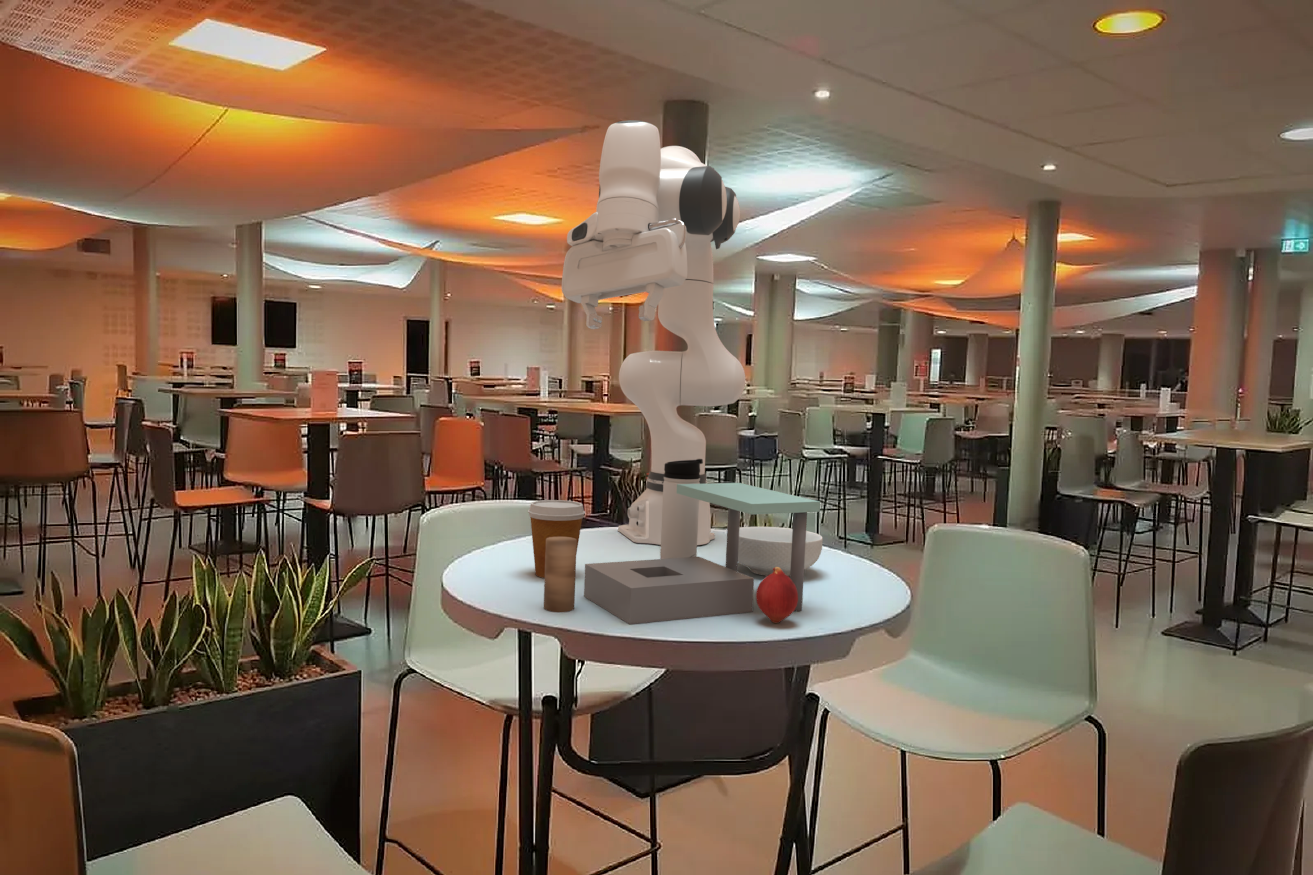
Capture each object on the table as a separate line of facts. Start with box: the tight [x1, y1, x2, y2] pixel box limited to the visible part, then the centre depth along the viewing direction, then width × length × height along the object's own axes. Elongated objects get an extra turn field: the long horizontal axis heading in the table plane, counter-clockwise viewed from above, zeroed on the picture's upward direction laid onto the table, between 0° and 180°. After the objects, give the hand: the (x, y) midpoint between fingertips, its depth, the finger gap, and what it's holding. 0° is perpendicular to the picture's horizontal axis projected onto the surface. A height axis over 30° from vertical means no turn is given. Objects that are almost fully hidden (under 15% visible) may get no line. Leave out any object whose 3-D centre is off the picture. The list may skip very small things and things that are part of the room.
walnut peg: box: [543, 537, 577, 613], centre depth 129 cm, size 4×4×10 cm
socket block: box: [583, 556, 755, 625], centre depth 134 cm, size 16×20×5 cm
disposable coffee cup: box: [527, 499, 586, 579], centre depth 150 cm, size 10×10×12 cm
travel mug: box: [659, 459, 703, 559], centre depth 155 cm, size 6×7×20 cm
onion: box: [755, 567, 798, 624], centre depth 126 cm, size 6×6×8 cm
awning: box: [677, 482, 821, 612], centre depth 140 cm, size 22×12×16 cm, turn 27°
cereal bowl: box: [738, 526, 824, 577], centre depth 160 cm, size 17×17×7 cm
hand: (619, 323), depth 125 cm, fingers open, 8 cm apart
